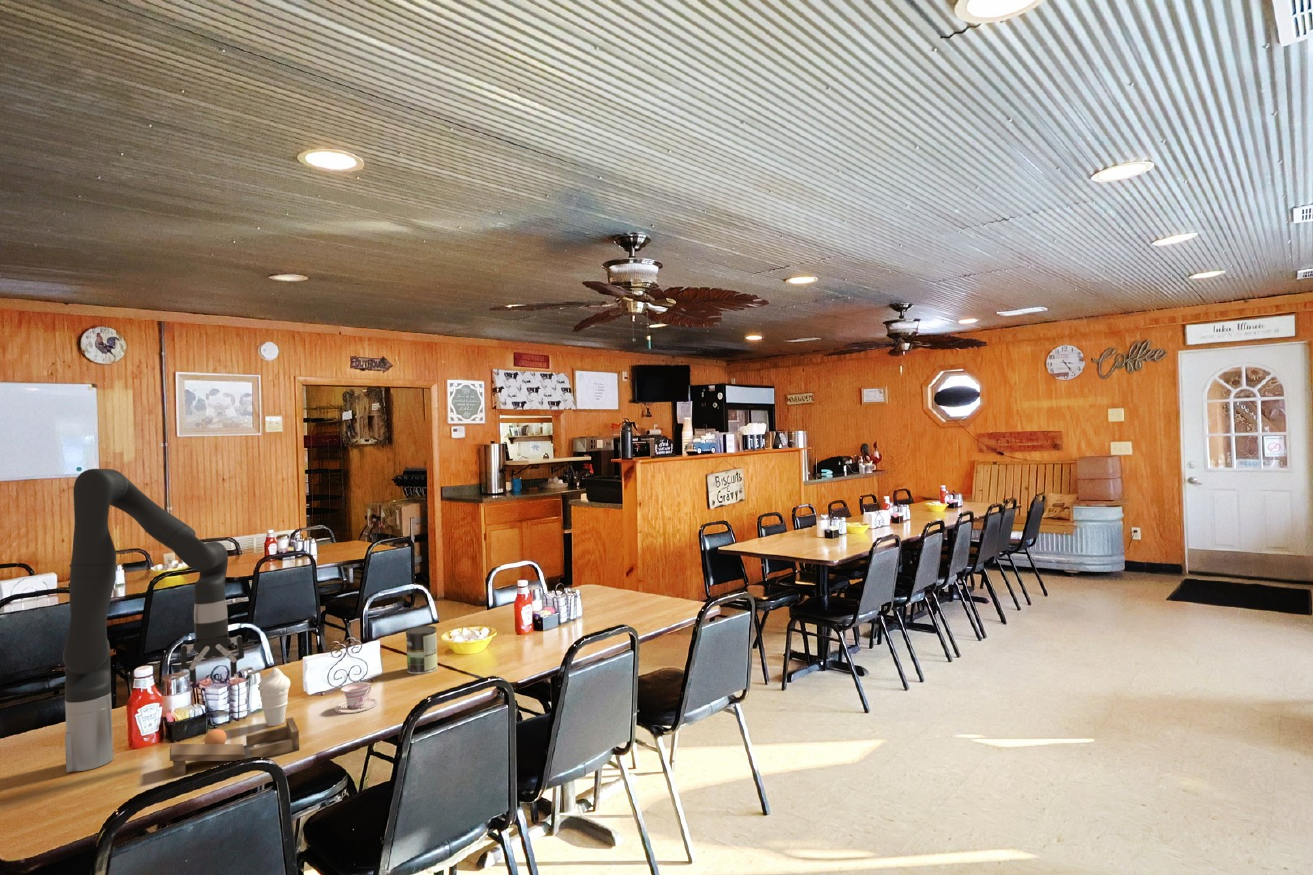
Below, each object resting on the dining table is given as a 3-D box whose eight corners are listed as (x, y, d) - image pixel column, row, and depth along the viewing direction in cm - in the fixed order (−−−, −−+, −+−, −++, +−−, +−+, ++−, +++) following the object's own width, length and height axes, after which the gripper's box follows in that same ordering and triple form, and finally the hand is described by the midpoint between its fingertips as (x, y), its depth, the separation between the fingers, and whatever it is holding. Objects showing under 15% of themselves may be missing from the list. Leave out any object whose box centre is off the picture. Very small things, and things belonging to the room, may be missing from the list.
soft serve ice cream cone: (252, 726, 206) (250, 670, 207) (279, 716, 214) (277, 661, 214) (271, 730, 203) (269, 673, 203) (298, 720, 210) (296, 664, 210)
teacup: (348, 717, 211) (347, 696, 211) (326, 709, 218) (326, 689, 218) (385, 704, 221) (384, 684, 221) (363, 697, 228) (362, 677, 228)
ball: (205, 754, 188) (204, 735, 188) (204, 748, 192) (203, 729, 192) (227, 749, 191) (226, 730, 191) (226, 743, 195) (225, 724, 195)
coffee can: (409, 676, 247) (407, 634, 247) (405, 668, 256) (404, 628, 256) (440, 671, 251) (438, 630, 251) (435, 663, 261) (434, 624, 261)
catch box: (246, 762, 182) (245, 742, 182) (243, 747, 192) (242, 728, 192) (299, 749, 188) (298, 730, 189) (293, 735, 199) (292, 717, 199)
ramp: (170, 778, 175) (169, 754, 175) (170, 766, 182) (169, 744, 182) (245, 760, 184) (244, 737, 184) (243, 749, 190) (242, 728, 190)
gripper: (178, 625, 185) (181, 689, 185) (243, 616, 193) (245, 677, 193) (178, 620, 191) (181, 682, 191) (240, 611, 199) (243, 670, 199)
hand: (213, 679), depth 192 cm, fingers open, 8 cm apart
